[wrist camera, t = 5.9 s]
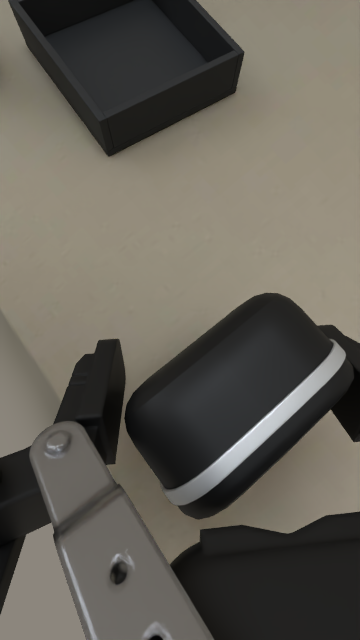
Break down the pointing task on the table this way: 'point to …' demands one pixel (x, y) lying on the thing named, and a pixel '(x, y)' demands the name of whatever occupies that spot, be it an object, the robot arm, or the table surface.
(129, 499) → the robot arm
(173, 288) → the table surface
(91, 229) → the table surface
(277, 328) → the battery charger
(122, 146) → the dark gray square tray
